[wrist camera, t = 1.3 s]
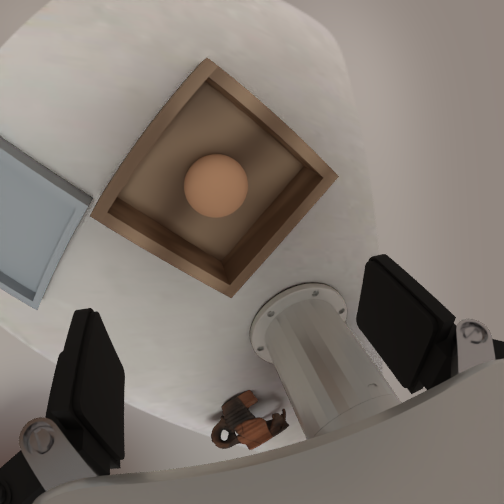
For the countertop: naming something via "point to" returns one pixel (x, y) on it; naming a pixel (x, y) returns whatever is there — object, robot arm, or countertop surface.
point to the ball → (216, 185)
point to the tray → (33, 223)
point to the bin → (188, 152)
